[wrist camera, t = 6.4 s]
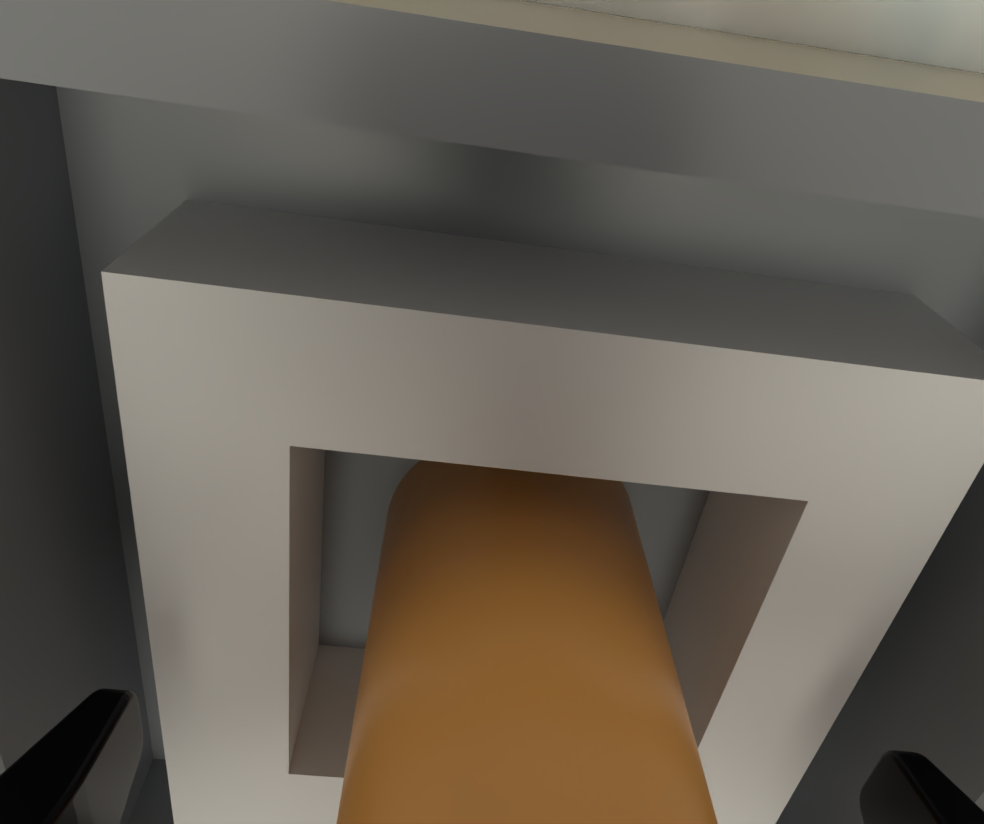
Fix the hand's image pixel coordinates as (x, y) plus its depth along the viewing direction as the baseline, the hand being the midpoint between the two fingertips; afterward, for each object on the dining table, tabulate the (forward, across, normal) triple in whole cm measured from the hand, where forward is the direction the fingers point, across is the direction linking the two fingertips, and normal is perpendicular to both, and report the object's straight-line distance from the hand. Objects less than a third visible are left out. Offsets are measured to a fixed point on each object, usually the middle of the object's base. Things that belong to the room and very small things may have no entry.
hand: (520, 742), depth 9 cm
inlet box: (+5, 0, 0) cm, 5 cm away
